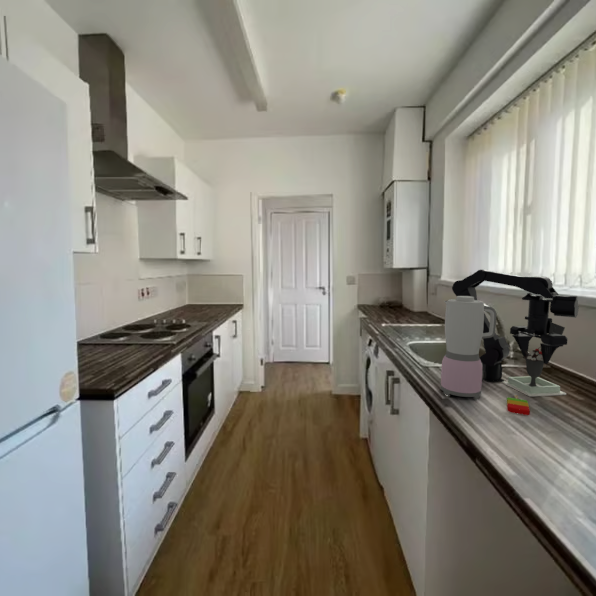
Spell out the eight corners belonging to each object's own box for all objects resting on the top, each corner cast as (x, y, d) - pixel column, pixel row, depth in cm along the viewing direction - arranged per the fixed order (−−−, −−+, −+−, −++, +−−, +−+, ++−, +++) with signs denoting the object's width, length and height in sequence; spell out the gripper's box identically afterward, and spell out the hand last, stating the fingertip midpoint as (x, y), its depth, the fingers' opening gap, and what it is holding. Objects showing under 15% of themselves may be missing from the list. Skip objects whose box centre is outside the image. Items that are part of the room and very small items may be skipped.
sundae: (549, 390, 120) (553, 346, 118) (529, 390, 120) (532, 346, 118) (536, 384, 126) (539, 342, 124) (517, 383, 126) (520, 341, 124)
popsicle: (507, 413, 104) (507, 407, 104) (506, 396, 117) (506, 391, 117) (529, 417, 102) (530, 411, 101) (526, 399, 115) (526, 394, 115)
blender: (443, 399, 114) (448, 298, 110) (436, 385, 126) (440, 294, 122) (497, 403, 110) (504, 299, 107) (485, 389, 122) (491, 295, 119)
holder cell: (529, 396, 116) (530, 389, 116) (502, 382, 129) (502, 376, 128) (566, 394, 117) (566, 387, 117) (535, 381, 130) (536, 374, 130)
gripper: (585, 318, 112) (581, 367, 114) (538, 310, 130) (535, 352, 132) (552, 318, 111) (548, 368, 112) (510, 310, 129) (507, 353, 131)
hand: (535, 359), depth 122 cm, fingers open, 9 cm apart
